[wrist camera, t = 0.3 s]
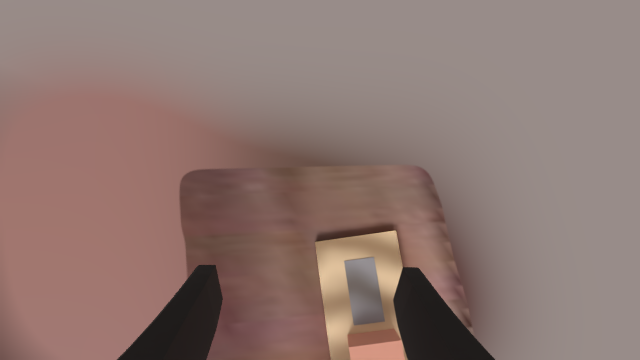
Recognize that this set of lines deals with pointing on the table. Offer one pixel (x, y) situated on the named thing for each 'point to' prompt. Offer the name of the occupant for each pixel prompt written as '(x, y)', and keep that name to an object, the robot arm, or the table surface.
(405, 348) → the robot arm
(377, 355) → the block
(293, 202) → the table surface
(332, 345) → the board
